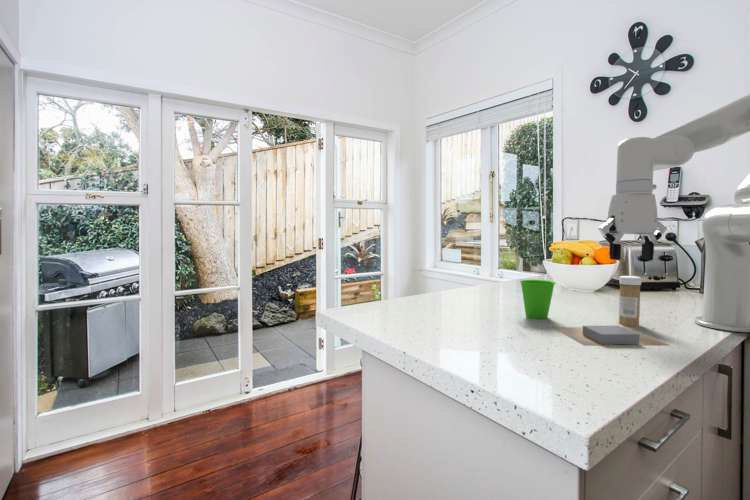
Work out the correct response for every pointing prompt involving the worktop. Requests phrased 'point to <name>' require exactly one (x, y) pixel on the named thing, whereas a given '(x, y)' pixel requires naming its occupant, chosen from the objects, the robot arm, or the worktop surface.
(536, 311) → the cup
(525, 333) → the worktop surface
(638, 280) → the sprinkles bottle
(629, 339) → the tile
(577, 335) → the board
